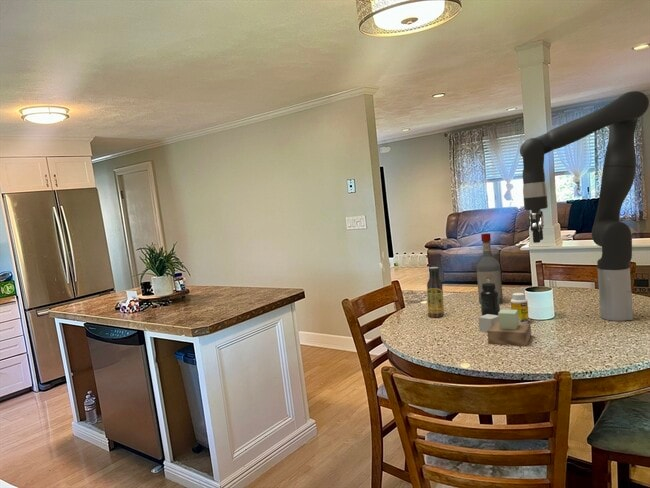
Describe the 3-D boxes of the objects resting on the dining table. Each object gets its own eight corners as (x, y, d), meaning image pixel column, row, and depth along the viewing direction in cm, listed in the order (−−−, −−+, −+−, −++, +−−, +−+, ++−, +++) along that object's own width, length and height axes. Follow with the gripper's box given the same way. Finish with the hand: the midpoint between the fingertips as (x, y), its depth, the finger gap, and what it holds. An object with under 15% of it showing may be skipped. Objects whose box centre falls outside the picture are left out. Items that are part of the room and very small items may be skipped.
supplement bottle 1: (492, 311, 178) (489, 281, 177) (504, 314, 171) (501, 284, 170) (478, 314, 176) (475, 284, 175) (489, 317, 169) (486, 286, 168)
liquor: (501, 305, 186) (496, 234, 184) (478, 305, 190) (473, 235, 188) (503, 300, 194) (497, 232, 192) (481, 300, 198) (475, 233, 196)
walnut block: (531, 335, 143) (530, 323, 143) (526, 345, 134) (525, 332, 134) (495, 333, 149) (494, 321, 149) (488, 343, 140) (487, 330, 140)
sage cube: (518, 325, 142) (517, 309, 142) (516, 329, 138) (515, 313, 138) (502, 324, 145) (501, 309, 144) (499, 328, 141) (498, 313, 140)
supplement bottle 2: (523, 324, 155) (520, 296, 155) (508, 322, 160) (506, 294, 159) (532, 321, 159) (530, 293, 158) (518, 319, 163) (515, 291, 162)
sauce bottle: (427, 318, 178) (422, 269, 177) (429, 314, 184) (425, 266, 183) (444, 317, 176) (439, 268, 174) (446, 313, 181) (441, 265, 180)
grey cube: (501, 330, 153) (499, 315, 152) (492, 333, 150) (491, 319, 149) (488, 327, 157) (487, 314, 156) (479, 331, 154) (478, 317, 153)
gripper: (544, 195, 150) (548, 243, 151) (548, 194, 161) (552, 238, 163) (520, 197, 154) (524, 244, 155) (526, 196, 166) (529, 239, 167)
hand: (538, 241), depth 159 cm, fingers open, 8 cm apart
